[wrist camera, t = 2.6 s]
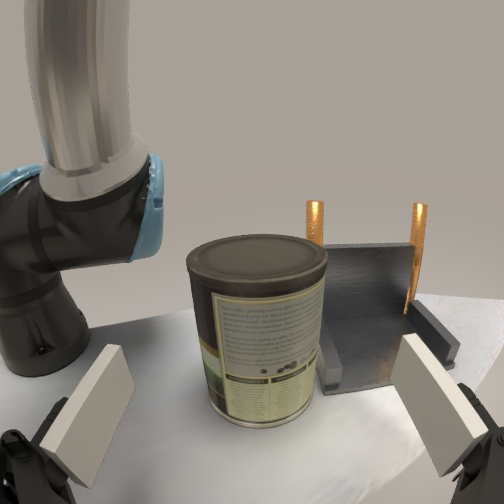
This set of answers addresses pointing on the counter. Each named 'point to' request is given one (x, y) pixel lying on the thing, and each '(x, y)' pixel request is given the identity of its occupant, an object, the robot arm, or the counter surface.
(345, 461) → the counter surface
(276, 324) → the coffee can
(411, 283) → the keeper bracket
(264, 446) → the counter surface
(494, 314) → the counter surface
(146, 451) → the counter surface
